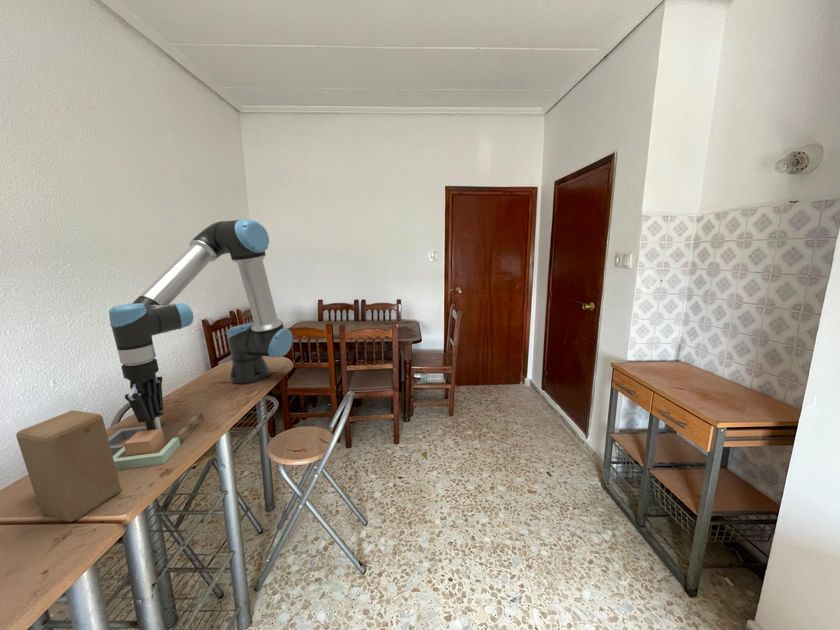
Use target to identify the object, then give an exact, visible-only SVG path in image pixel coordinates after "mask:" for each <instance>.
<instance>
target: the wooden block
mask: <svg viewBox="0 0 840 630" xmlns="http://www.w3.org/2000/svg"><path fill="white" fill-rule="evenodd" d="M108 438H109V437H108V433H107V430H106V426H105V422H104V418H103V416H102V415H101V414H100V413H95V412H87V411H83V410H82V411H80V410H70V411H67V412H64V413H61V414H59V415H57V416H54V417H51V418H48V419H46V420H44V421H41V422H39V423H35V424H33V425H30V426H28V427H26V428H23V429H21V430H19V431H18V432H16V439H17V442H18V446H19V449H20V452H21V455H22V457H23V461H24V464H25V468H26V471H27V473H28V477H29V480H30V483H31V485H32V489H33V492H34V495H35V498H36V502H37V504H38V507H39V511H40V514H42V515H43V516H47V517H50V518H53V519H57V520H61V521H66V522H71V523H72V522H74V521H76V520H78V519H80V518H81V517H83V516H85V514H87V513H89V512H90V511H92V510H94V509H95V508H97V507H98V506H99V505H102V504H103V503H105V502H106V501H107V500H109V499H111V498H113V497H114V496H115V495H117V494H119V493H120V491H121V490H122V487H121V482H120V479H119V476H118V470H116V467H115V463H114V459H113V455H112V452H111V448H110V444H109V440H108Z"/></svg>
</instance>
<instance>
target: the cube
mask: <svg viewBox="0 0 840 630" xmlns="http://www.w3.org/2000/svg"><path fill="white" fill-rule="evenodd" d="M165 440H166V439H165V435H164V431H163V428H162V429H155V430H147V431H138V432H137V433H136V434H135V435H133V436H132V437H131V438H128V440H126V441H125V442H124V443H123V444H124V448H125V452H126V456H127V457H129V456H137V455H145V454H153V453H159V452H160V451H161V450H162V449H163V448H164V447H165V446H166V445H167V444H166V441H165Z"/></svg>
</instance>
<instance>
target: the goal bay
mask: <svg viewBox="0 0 840 630" xmlns="http://www.w3.org/2000/svg"><path fill="white" fill-rule="evenodd" d="M180 446H181V445H180V441H179V437H177V438H173V437H172V438H171V440H169V442H167V444H166V446H165V447H164V448H163V449H162V450H161V451H160V452H159V453H153V454H145V455H137V456H129V457H127V456H126V452H125V448H124V447H123V448H122V449H121V450H119V451H118V452H117V453H116V454H115V455H114V456H113V459H114V463H115V467H116V471H119V470H126V469H127V470H128V469H135V468H142V467H150V466H157V465H164V464H165V463H166V462H167V461H168V460H169V459H170V458H171V457H172V455H173V454H175V452H176V451H177V450H178V448H179V447H180Z"/></svg>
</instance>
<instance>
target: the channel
mask: <svg viewBox="0 0 840 630" xmlns="http://www.w3.org/2000/svg"><path fill="white" fill-rule="evenodd" d="M159 419H160V424H161V428H162V427H163V426H164V425H165V424H166V423H165V418H164V416H159ZM203 420H204V414H203V412H202V411H201V412H199V411H198V412H195V414H194V415H193V416H192V417H191V419H190V420H188V422H186V423H185V425H184V426H183V427H182V428H180V430H179V431H178V432H177V433H176V434H175V435H174V436H173V437H172V438H177V437H179V441H180V446H181V445H182V444H183V443H184V442H185V441H186V439H187V438H188V437H189V436H190V435H191V434H192V433H193V432H194V431H195V429H196V428H197V427H198V426H199V425H200V423H201V422H203ZM145 431H147V427H146V428H145Z"/></svg>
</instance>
